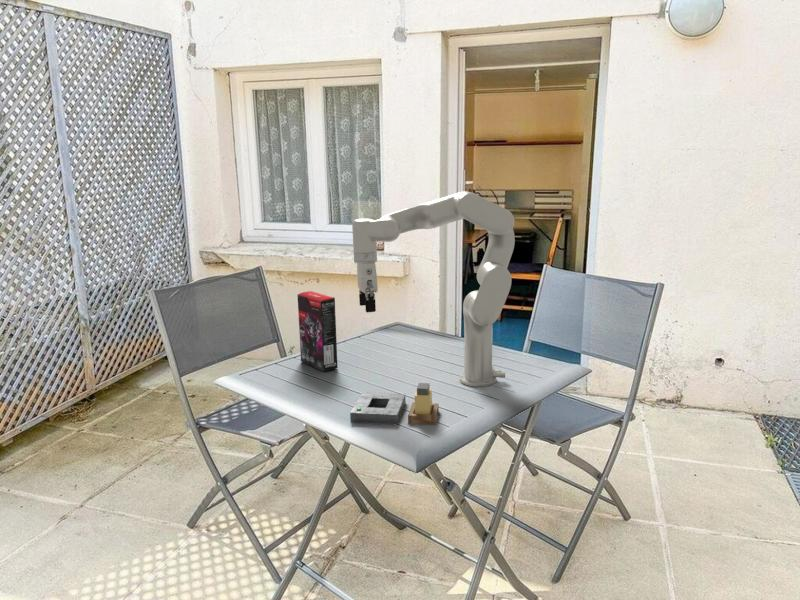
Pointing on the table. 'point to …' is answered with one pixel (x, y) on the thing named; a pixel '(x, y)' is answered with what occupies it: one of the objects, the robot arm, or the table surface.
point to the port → (385, 414)
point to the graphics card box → (317, 330)
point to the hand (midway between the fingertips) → (367, 308)
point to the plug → (423, 399)
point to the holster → (423, 415)
